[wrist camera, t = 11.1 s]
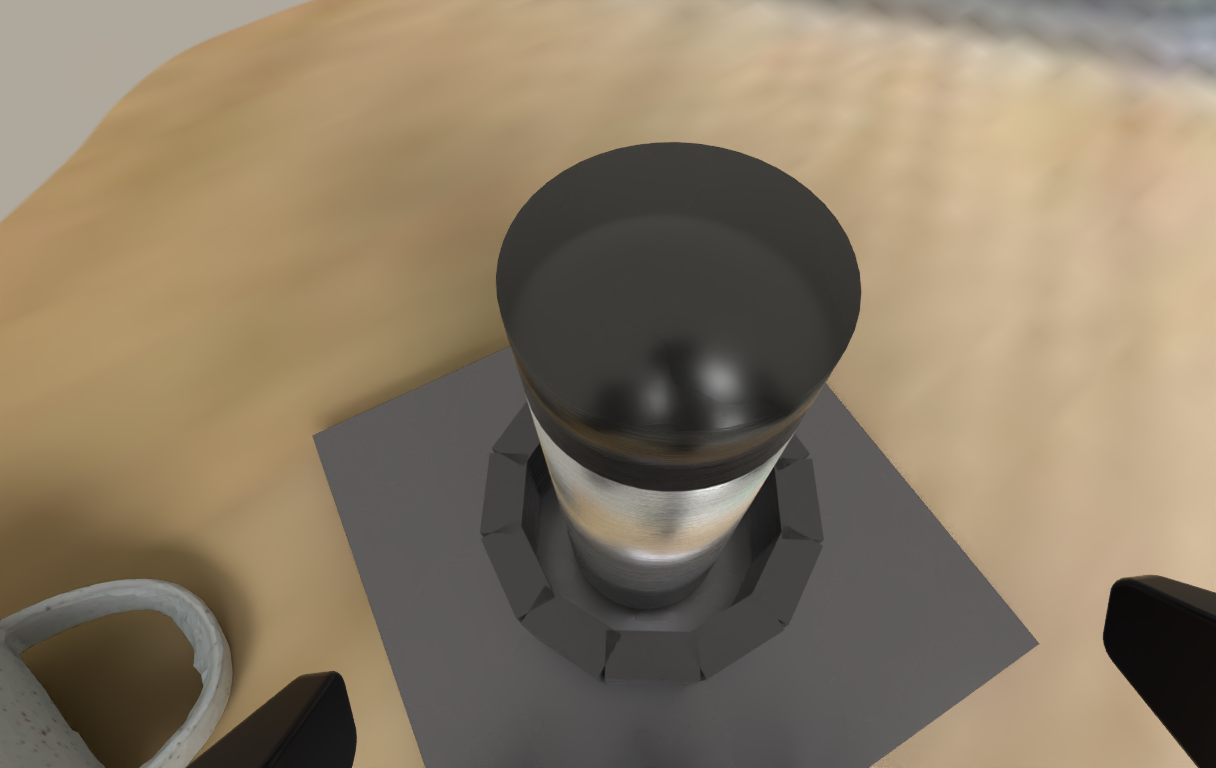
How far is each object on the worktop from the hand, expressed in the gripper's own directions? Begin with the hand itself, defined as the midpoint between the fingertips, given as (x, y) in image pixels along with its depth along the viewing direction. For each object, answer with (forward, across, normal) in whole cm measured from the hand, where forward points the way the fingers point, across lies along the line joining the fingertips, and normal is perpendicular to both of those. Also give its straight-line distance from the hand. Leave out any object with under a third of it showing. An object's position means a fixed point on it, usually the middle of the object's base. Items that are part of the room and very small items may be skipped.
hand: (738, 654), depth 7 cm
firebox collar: (+11, 0, +5) cm, 12 cm away
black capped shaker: (+10, 0, +4) cm, 11 cm away
